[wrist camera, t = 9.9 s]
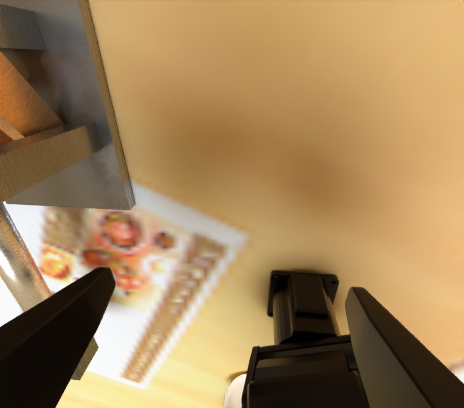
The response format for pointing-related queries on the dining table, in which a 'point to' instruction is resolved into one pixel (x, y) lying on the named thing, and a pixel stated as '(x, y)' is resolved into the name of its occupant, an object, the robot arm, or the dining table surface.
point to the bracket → (62, 111)
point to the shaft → (27, 278)
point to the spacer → (21, 106)
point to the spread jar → (235, 392)
